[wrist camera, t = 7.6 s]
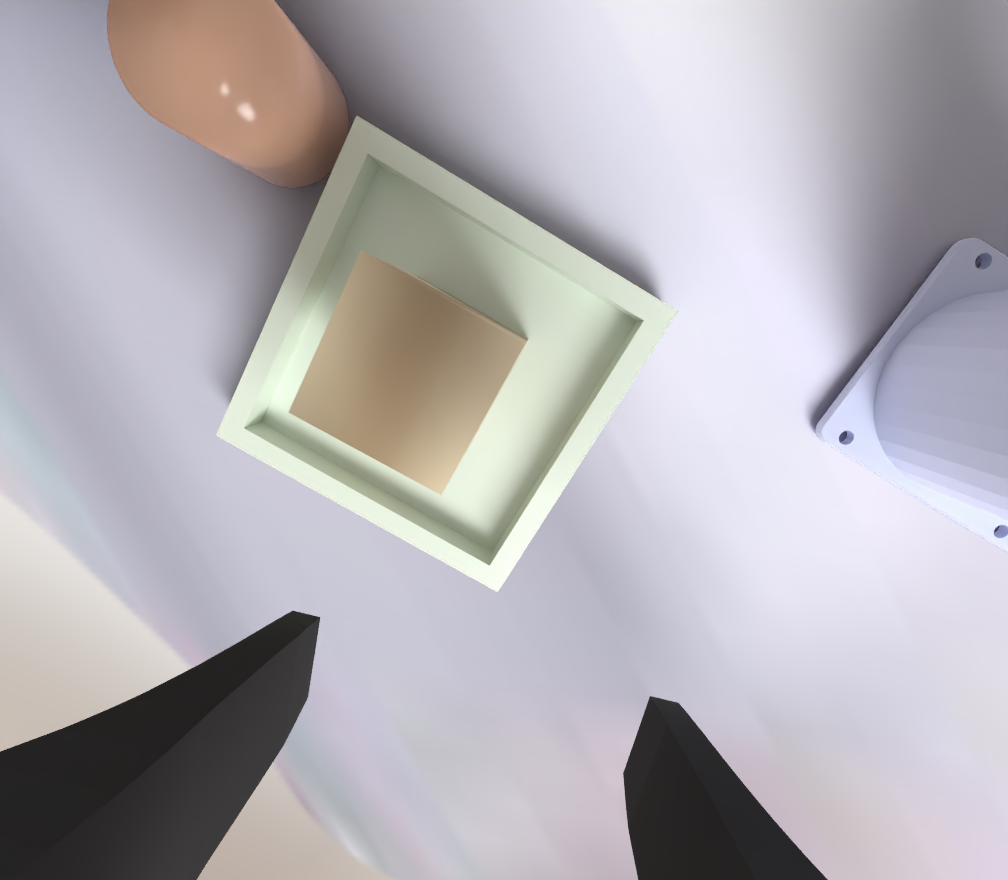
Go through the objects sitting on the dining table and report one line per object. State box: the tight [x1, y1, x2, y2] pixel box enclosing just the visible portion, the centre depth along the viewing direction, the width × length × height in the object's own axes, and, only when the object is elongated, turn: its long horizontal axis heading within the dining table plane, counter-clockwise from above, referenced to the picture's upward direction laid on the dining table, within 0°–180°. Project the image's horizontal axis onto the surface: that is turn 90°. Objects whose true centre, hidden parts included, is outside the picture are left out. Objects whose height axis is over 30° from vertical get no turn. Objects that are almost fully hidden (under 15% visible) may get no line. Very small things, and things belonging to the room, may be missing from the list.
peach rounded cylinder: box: [107, 0, 349, 188], centre depth 15 cm, size 4×4×5 cm
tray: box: [216, 115, 678, 592], centre depth 18 cm, size 12×12×2 cm
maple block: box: [288, 251, 528, 495], centre depth 15 cm, size 4×4×6 cm
